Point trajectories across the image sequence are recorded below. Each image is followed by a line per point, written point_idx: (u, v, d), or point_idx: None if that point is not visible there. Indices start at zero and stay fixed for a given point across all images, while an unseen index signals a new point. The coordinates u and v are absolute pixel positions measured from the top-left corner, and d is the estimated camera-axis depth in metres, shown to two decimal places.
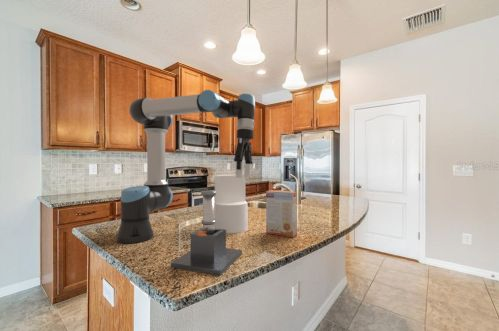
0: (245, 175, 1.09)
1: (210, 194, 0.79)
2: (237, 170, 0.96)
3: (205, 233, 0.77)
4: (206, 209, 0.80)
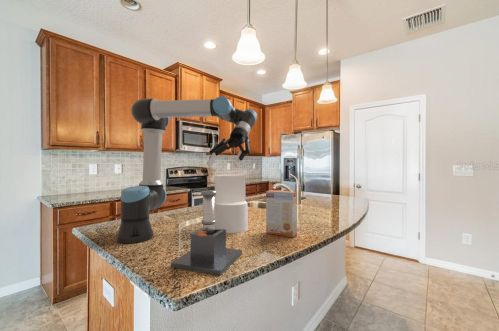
0: (209, 162, 0.99)
1: (210, 194, 0.79)
2: (238, 158, 0.94)
3: (205, 233, 0.77)
4: (206, 209, 0.80)
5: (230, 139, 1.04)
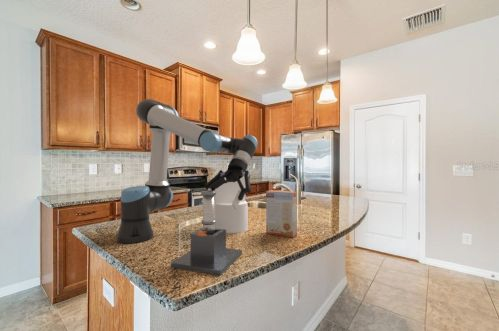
0: None
1: (210, 194, 0.79)
2: (237, 199, 0.82)
3: (205, 233, 0.77)
4: (206, 209, 0.80)
5: (228, 172, 0.93)
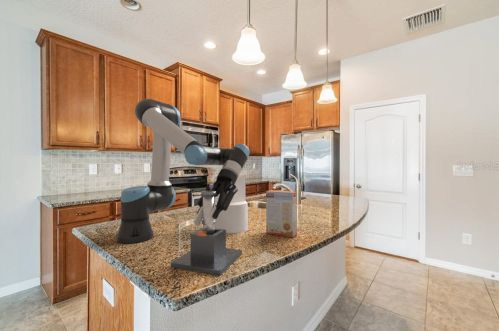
0: (196, 220, 0.80)
1: (210, 194, 0.79)
2: (211, 217, 0.78)
3: (205, 233, 0.77)
4: (206, 209, 0.80)
5: (217, 184, 0.88)
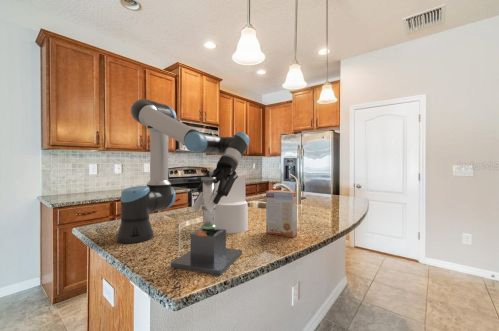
0: (196, 205, 0.80)
1: (210, 179, 0.79)
2: (212, 202, 0.78)
3: (205, 233, 0.77)
4: (206, 195, 0.80)
5: (217, 170, 0.88)
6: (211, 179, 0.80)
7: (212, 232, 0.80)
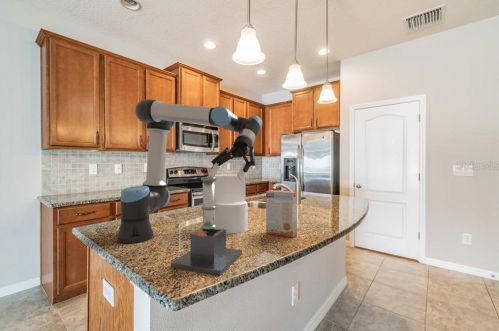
0: (211, 173, 0.93)
1: (210, 179, 0.79)
2: (242, 170, 0.87)
3: (205, 233, 0.77)
4: (206, 195, 0.80)
5: (234, 148, 0.98)
6: (211, 179, 0.80)
7: (212, 232, 0.80)
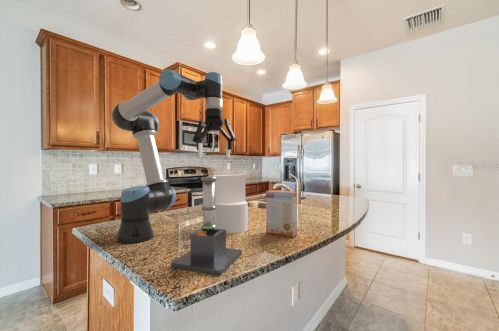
0: (200, 155, 1.04)
1: (210, 179, 0.79)
2: (228, 150, 0.99)
3: (205, 233, 0.77)
4: (206, 195, 0.80)
5: (208, 124, 1.01)
6: (211, 179, 0.80)
7: (212, 232, 0.80)
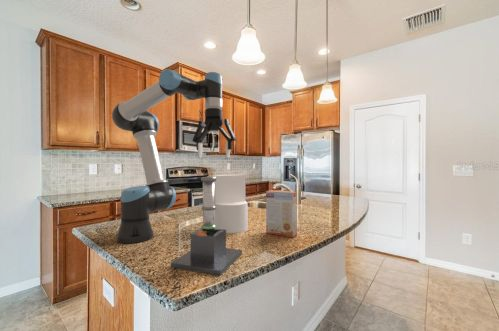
0: (200, 155, 1.04)
1: (210, 179, 0.79)
2: (228, 150, 0.99)
3: (205, 233, 0.77)
4: (206, 195, 0.80)
5: (208, 124, 1.01)
6: (211, 179, 0.80)
7: (212, 232, 0.80)
